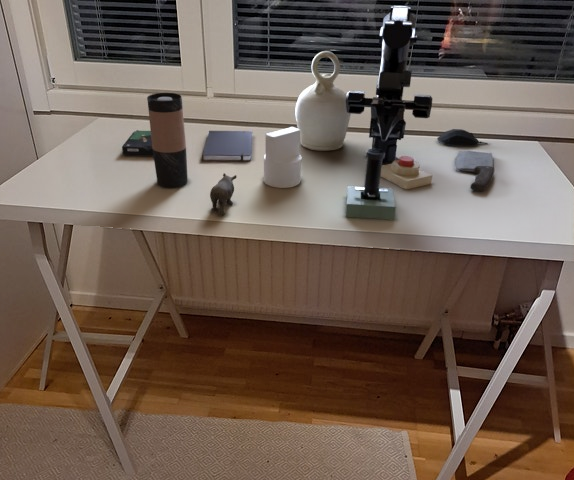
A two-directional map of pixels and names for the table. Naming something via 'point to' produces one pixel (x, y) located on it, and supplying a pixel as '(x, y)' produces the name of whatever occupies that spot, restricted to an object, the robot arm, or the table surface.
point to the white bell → (322, 110)
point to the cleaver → (476, 167)
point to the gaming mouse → (458, 138)
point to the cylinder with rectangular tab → (283, 158)
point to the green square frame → (370, 204)
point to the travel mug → (168, 139)
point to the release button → (406, 161)
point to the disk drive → (138, 144)
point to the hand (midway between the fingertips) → (383, 140)
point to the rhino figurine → (222, 193)
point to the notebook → (228, 146)
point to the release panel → (405, 175)
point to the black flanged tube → (373, 174)
